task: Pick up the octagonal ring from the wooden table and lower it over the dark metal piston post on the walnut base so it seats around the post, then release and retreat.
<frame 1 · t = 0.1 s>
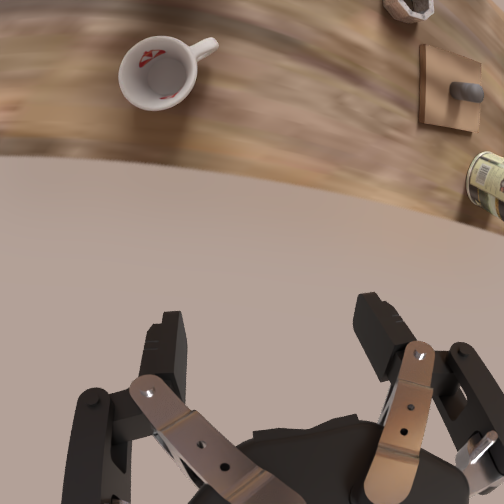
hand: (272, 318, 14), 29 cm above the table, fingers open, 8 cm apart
post block: (449, 89, 36), on the table
ring: (400, 3, 30), on the table
coffee can: (483, 178, 44), on the table
cup: (177, 70, 33), on the table
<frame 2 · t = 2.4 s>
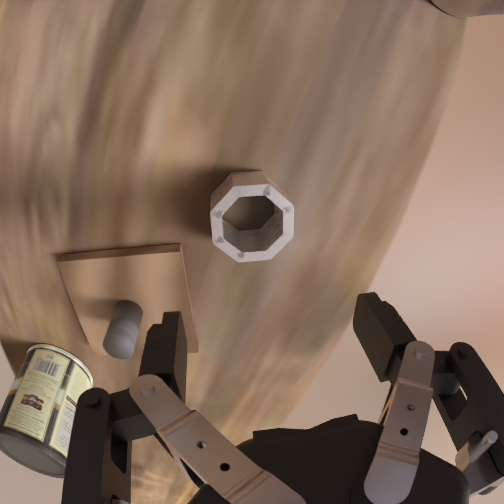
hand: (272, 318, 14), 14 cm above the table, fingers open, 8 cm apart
post block: (131, 302, 30), on the table
ring: (248, 205, 27), on the table
coffee can: (59, 369, 35), on the table
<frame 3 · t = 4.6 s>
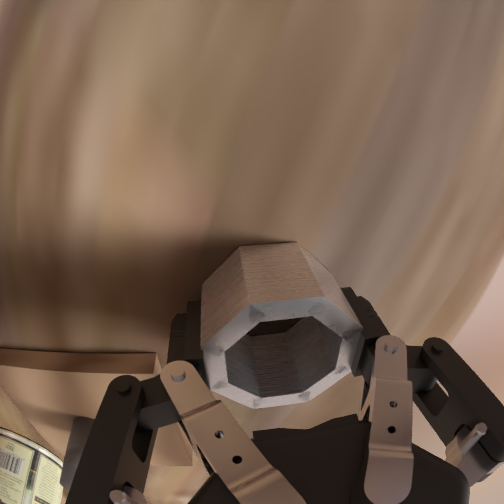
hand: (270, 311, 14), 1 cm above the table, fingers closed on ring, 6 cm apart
post block: (96, 410, 18), on the table
ring: (268, 300, 15), on the table, touching gripper
coffee can: (27, 451, 23), on the table
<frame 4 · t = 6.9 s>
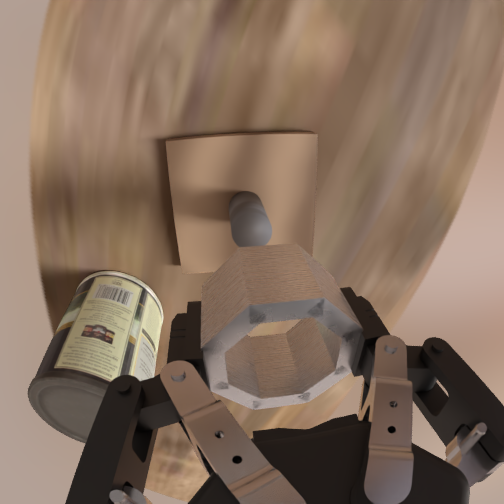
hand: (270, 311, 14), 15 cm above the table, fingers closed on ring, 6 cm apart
post block: (243, 201, 28), on the table
ring: (268, 301, 15), point 14 cm above the table, touching gripper
coffee can: (118, 309, 32), on the table
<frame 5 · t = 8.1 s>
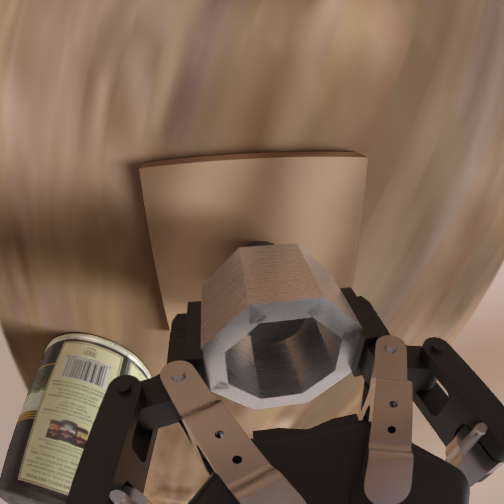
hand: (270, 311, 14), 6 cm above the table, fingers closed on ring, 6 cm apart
post block: (256, 250, 20), on the table
ring: (268, 301, 15), point 5 cm above the table, touching gripper
coffee can: (98, 373, 24), on the table
when the fingers open (5 cm above the table, at t = 9.2 s): ring drops 3 cm, resting on post block.
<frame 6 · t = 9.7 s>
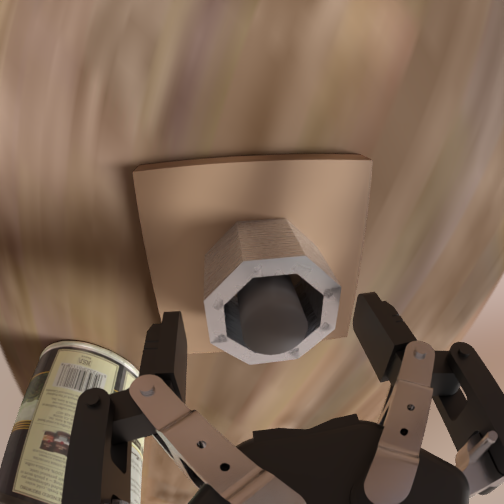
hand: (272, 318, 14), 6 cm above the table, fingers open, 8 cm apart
post block: (256, 257, 19), on the table
ring: (262, 270, 18), point 1 cm above the table, touching post block
coffee can: (94, 381, 23), on the table
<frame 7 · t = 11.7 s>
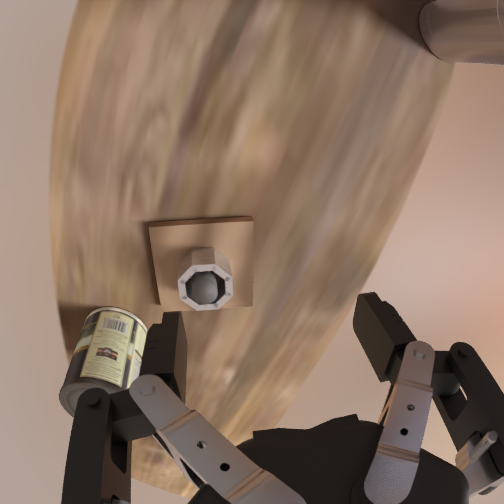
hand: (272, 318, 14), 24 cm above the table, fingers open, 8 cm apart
post block: (203, 263, 40), on the table
ring: (204, 270, 39), point 1 cm above the table, touching post block
coffee can: (116, 333, 43), on the table
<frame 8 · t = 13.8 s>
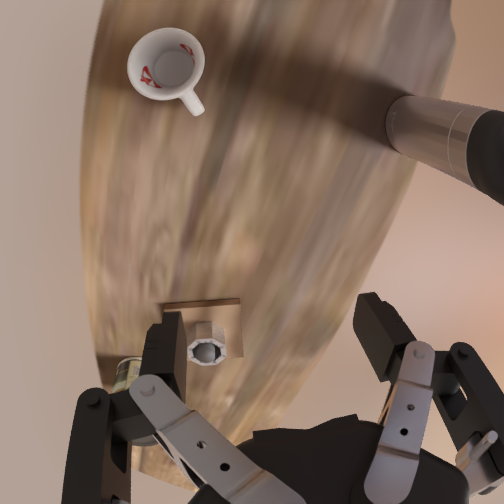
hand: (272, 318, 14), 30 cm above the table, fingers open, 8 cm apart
post block: (205, 329, 53), on the table
ring: (206, 335, 51), point 1 cm above the table, touching post block
coffee can: (142, 373, 57), on the table
cup: (180, 77, 34), on the table
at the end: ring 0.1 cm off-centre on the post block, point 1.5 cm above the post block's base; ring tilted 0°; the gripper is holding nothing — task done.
